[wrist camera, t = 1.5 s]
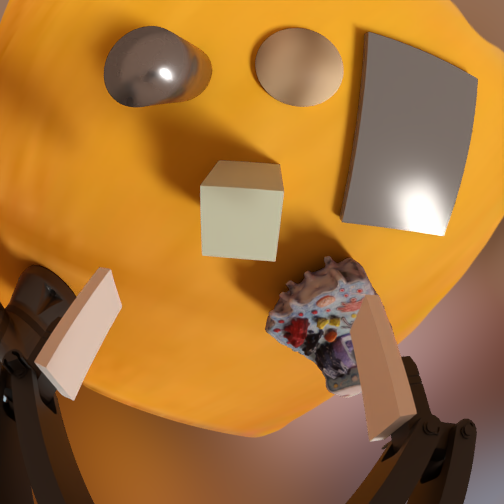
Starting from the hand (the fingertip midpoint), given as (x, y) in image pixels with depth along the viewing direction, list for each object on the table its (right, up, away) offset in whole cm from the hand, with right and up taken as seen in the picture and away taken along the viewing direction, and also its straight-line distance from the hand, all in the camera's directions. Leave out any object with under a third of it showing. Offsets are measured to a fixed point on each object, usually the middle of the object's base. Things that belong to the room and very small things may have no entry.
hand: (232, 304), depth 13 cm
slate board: (+18, +14, +9) cm, 25 cm away
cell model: (+13, -5, +22) cm, 26 cm away
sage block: (+1, +9, +14) cm, 17 cm away
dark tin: (-6, +20, +8) cm, 22 cm away
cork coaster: (+5, +20, +7) cm, 22 cm away
